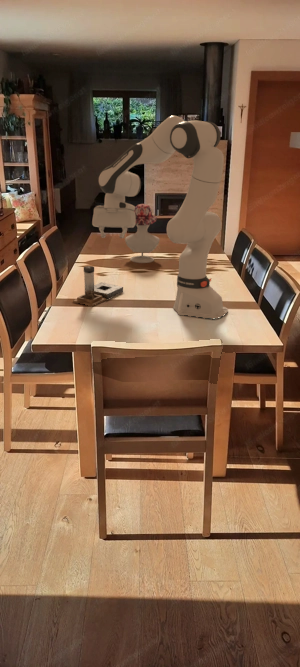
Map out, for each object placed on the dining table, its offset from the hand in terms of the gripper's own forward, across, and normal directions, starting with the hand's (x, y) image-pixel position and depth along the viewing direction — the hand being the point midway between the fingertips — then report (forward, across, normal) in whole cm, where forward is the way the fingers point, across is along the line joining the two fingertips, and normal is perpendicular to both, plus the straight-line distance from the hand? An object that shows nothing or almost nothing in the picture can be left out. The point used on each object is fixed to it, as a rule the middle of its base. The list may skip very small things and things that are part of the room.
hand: (112, 237), depth 220 cm
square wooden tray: (+28, -3, -10) cm, 30 cm away
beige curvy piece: (+6, -16, +61) cm, 63 cm away
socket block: (+24, -3, +1) cm, 25 cm away
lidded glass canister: (+27, -3, -10) cm, 29 cm away
